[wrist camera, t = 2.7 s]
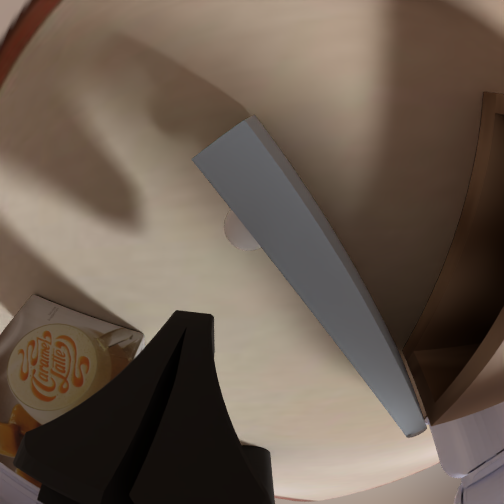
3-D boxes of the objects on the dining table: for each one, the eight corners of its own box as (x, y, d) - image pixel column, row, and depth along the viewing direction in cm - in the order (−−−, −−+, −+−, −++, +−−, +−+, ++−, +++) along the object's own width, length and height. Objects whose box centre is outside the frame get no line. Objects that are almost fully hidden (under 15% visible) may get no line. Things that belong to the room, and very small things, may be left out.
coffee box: (52, 349, 18) (-21, 502, 4) (32, 290, 15) (-79, 470, 1) (150, 386, 19) (103, 575, 5) (148, 331, 16) (69, 588, 1)
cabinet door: (402, 359, 16) (427, 430, 11) (367, 376, 16) (385, 448, 11) (254, 114, 9) (244, 119, 5) (198, 155, 10) (140, 202, 5)
